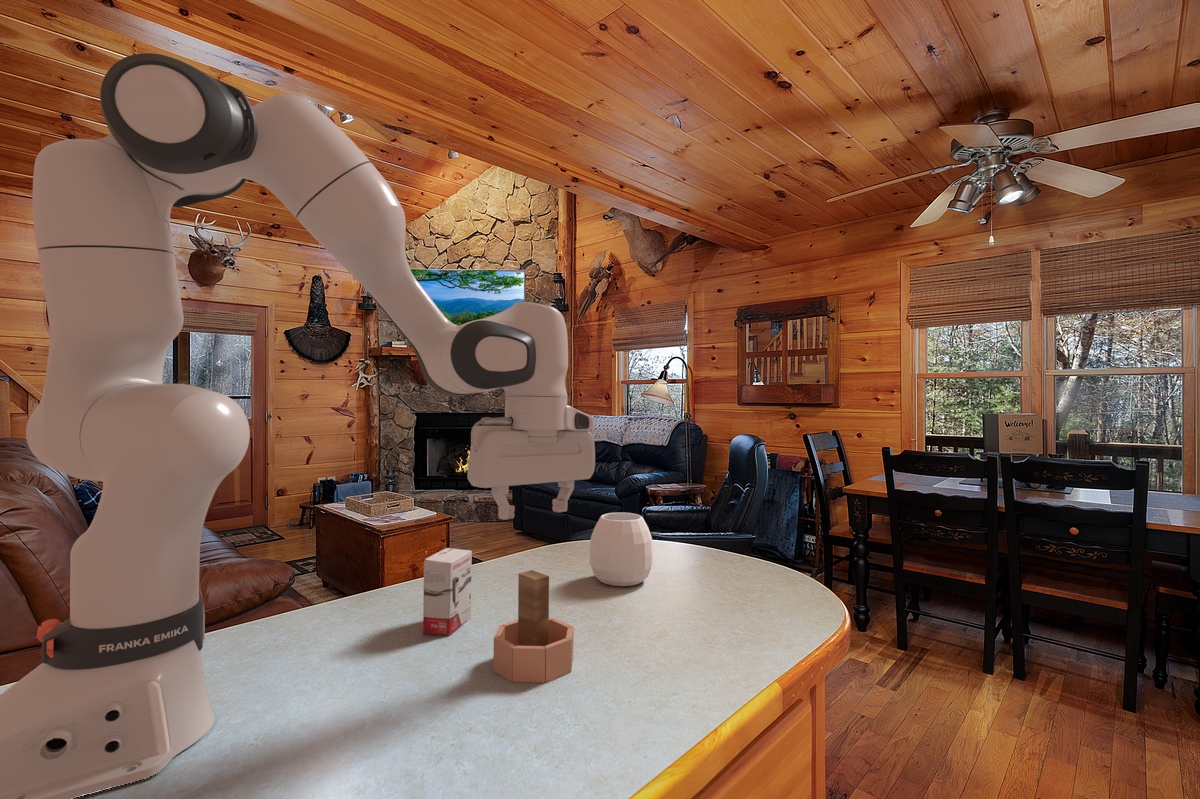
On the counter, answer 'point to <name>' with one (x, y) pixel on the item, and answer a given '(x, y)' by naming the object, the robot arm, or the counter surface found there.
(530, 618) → the tall wooden block
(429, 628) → the ink box
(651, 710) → the counter surface
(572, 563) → the counter surface
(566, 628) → the octagonal terracotta tray
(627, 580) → the cup
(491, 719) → the counter surface
